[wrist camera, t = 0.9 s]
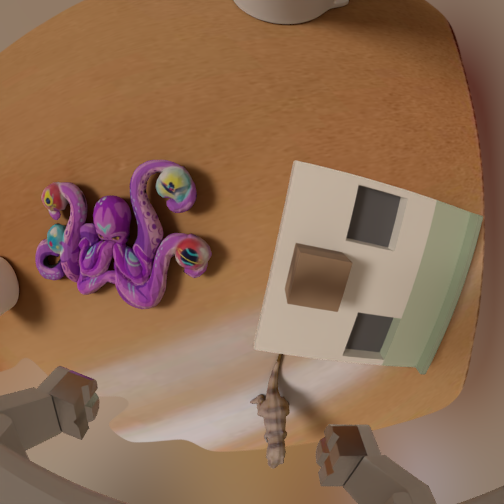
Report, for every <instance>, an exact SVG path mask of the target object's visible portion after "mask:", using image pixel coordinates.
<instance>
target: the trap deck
mask: <svg viewBox="0 0 504 504" xmlns="http://www.w3.org/2000/svg"><path fill="white" fill-rule="evenodd" d="M482 219H483V216H480V215H478V214H474V213H471V212H468V211H465V210H463V209H460V208H457V207H454V206H452V205H449V204H446V203H443V202H441V201H438V200H435V199H432V198H429V197H426V196H423V195H420V194H417V193H414V192H411V191H408V190H404V189H401V188H398V187H395V186H391V185H388V184H385V183H381V182H378V181H375V180H371V179H368V178H364V177H360V176H357V175H353V174H349V173H345V172H342V171H338V170H334V169H330V168H326V167H322V166H318V165H313V164H309V163H305V162H300V161H294V162H293V167H292V172H291V176H290V181H289V186H288V191H287V196H286V200H285V205H284V210H283V215H282V219H281V224H280V229H279V233H278V238H277V242H276V247H275V252H274V256H273V261H272V265H271V270H270V274H269V279H268V283H267V288H266V292H265V296H264V301H263V305H262V309H261V314H260V318H259V322H258V327H257V331H256V335H255V340H254V350H260V351H266V352H272V353H279V354H285V355H292V356H299V357H307V358H314V359H322V360H331V361H340V362H350V363H360V364H372V365H385V366H400V367H416V369H417V370H418V371H419V373H420V374H426V372H427V370H428V368H429V366H430V364H431V362H432V360H433V358H434V356H435V354H436V352H437V349H438V347H439V345H440V343H441V341H442V338H443V336H444V334H445V332H446V329H447V327H448V324H449V322H450V320H451V317H452V315H453V312H454V310H455V307H456V304H457V302H458V299H459V296H460V294H461V291H462V288H463V285H464V282H465V279H466V276H467V273H468V270H469V267H470V264H471V260H472V257H473V254H474V250H475V247H476V243H477V239H478V235H479V231H480V227H481V223H482ZM295 243H300V244H305V245H309V246H314V247H319V248H324V249H329V250H334V251H339V252H343V253H344V254H345V255H346V256H347V258H348V259H349V260H350V261H351V262H352V267H351V270H350V274H349V277H348V281H347V284H346V287H345V291H344V294H343V297H342V300H341V304H340V307H339V310H338V312H334V311H328V310H322V309H316V308H310V307H304V306H298V305H292V304H287V299H286V294H285V285H286V281H287V277H288V273H289V269H290V264H291V260H292V256H293V252H294V247H295Z"/></svg>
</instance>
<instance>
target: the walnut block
mask: <svg viewBox="0 0 504 504" xmlns="http://www.w3.org/2000/svg"><path fill="white" fill-rule="evenodd" d="M351 267H352V262H351V261H350V260H349V259H348V258H347V256H346V255H345V254H344V253H343V252H339V251H334V250H329V249H324V248H319V247H314V246H309V245H305V244H300V243H295V247H294V252H293V256H292V260H291V264H290V269H289V273H288V277H287V281H286V285H285V294H286V299H287V304H292V305H298V306H304V307H310V308H316V309H322V310H328V311H334V312H338V310H339V307H340V304H341V300H342V297H343V294H344V291H345V287H346V284H347V281H348V277H349V274H350V270H351Z"/></svg>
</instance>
